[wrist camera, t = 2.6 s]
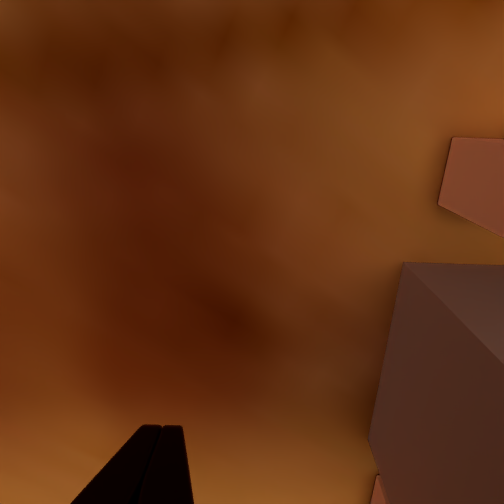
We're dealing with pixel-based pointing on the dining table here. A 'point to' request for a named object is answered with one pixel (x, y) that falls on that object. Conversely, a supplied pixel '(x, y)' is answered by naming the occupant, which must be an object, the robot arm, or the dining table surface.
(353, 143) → the dining table surface
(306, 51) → the dining table surface
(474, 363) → the slate block
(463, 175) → the white tray
